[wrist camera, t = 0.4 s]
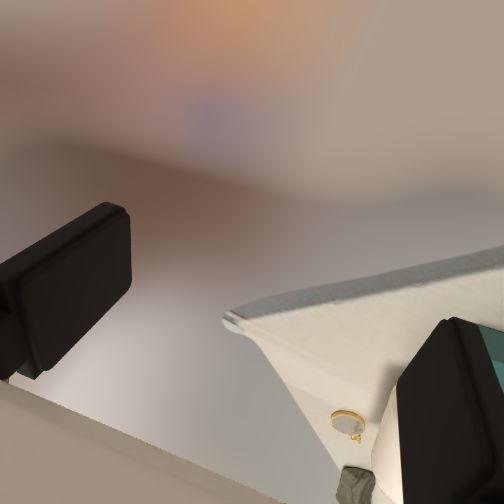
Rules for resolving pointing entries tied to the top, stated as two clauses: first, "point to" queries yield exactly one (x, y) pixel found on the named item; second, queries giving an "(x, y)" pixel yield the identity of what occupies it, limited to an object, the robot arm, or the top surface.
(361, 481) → the stone
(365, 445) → the top surface
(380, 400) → the top surface
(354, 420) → the pocket watch
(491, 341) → the teal block
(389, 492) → the white mug
